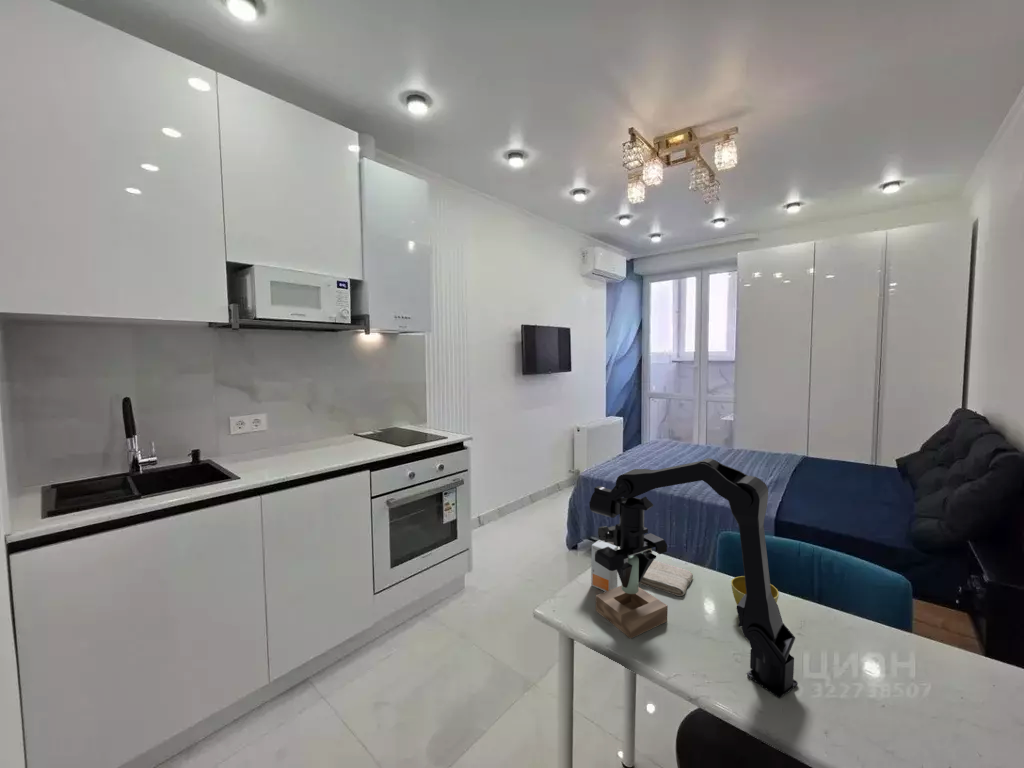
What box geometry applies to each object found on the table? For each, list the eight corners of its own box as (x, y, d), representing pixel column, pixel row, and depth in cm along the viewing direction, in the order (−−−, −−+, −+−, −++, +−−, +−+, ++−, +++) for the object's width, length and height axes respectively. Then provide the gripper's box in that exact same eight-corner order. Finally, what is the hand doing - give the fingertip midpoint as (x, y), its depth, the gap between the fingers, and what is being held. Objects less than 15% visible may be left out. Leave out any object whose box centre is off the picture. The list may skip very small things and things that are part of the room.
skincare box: (590, 586, 118) (590, 544, 117) (598, 579, 121) (598, 539, 120) (610, 594, 114) (610, 551, 113) (618, 587, 117) (618, 545, 116)
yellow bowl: (785, 617, 103) (786, 589, 102) (765, 634, 97) (766, 604, 97) (743, 598, 111) (744, 571, 111) (722, 612, 106) (723, 584, 105)
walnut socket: (667, 621, 102) (667, 605, 102) (630, 638, 97) (630, 621, 96) (630, 596, 113) (630, 581, 112) (595, 610, 107) (595, 595, 107)
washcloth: (633, 561, 132) (633, 551, 132) (694, 579, 122) (694, 568, 121) (618, 578, 122) (618, 568, 122) (683, 599, 112) (684, 588, 112)
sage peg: (642, 590, 104) (642, 559, 103) (629, 595, 102) (630, 564, 101) (630, 582, 107) (630, 552, 106) (618, 587, 105) (618, 556, 104)
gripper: (635, 504, 114) (634, 560, 116) (580, 519, 105) (580, 579, 106) (668, 518, 104) (668, 579, 106) (611, 536, 95) (611, 602, 97)
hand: (631, 584), depth 104 cm, fingers closed on sage peg, 4 cm apart
